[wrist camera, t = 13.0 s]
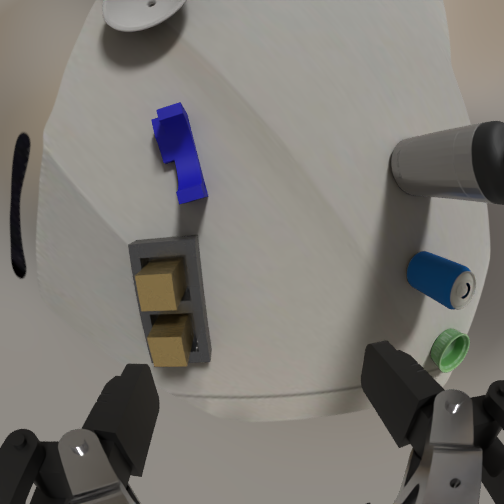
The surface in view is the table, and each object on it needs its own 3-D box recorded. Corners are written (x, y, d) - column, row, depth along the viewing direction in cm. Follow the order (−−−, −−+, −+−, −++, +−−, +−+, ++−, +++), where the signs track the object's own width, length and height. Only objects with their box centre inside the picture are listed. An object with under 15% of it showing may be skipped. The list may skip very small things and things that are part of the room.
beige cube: (182, 257, 38) (171, 273, 30) (186, 287, 39) (176, 310, 31) (152, 259, 38) (134, 275, 30) (157, 289, 39) (141, 311, 31)
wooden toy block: (189, 310, 40) (181, 336, 32) (193, 336, 41) (187, 366, 33) (160, 311, 39) (146, 337, 32) (166, 337, 40) (154, 366, 33)
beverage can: (425, 289, 43) (468, 314, 31) (399, 283, 42) (442, 310, 30) (436, 254, 42) (482, 272, 30) (410, 246, 41) (458, 264, 29)
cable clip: (156, 124, 35) (144, 114, 29) (187, 115, 35) (180, 102, 29) (177, 205, 37) (167, 207, 31) (208, 196, 37) (204, 197, 32)
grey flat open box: (198, 234, 38) (194, 239, 35) (211, 349, 42) (210, 361, 39) (136, 240, 38) (128, 244, 34) (156, 351, 41) (151, 362, 38)
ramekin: (423, 366, 47) (433, 376, 43) (435, 328, 45) (447, 337, 41) (450, 358, 48) (461, 368, 43) (462, 323, 46) (474, 331, 42)
